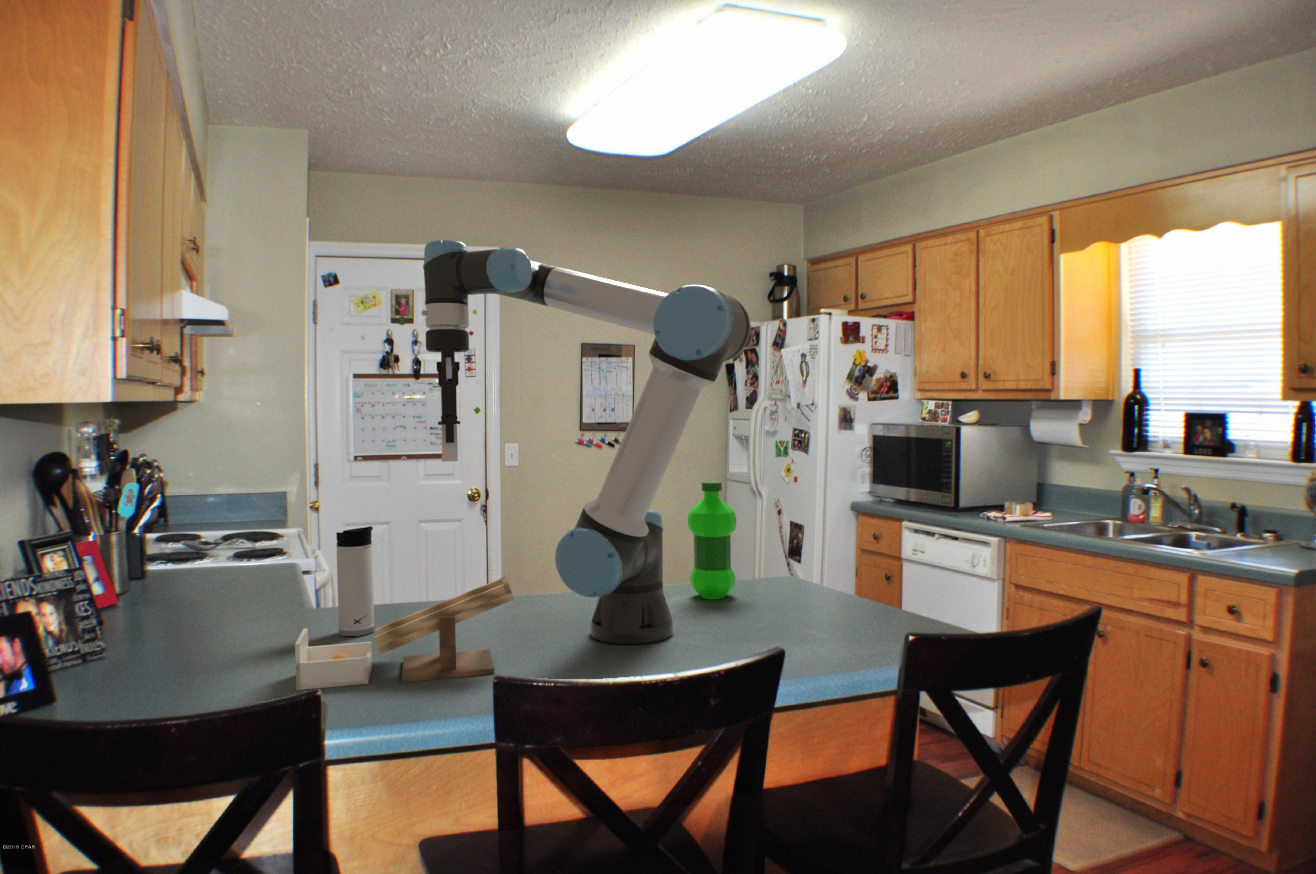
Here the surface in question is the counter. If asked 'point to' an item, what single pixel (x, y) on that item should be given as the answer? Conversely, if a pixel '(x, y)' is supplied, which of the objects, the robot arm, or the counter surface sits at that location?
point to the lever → (429, 617)
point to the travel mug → (355, 582)
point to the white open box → (331, 664)
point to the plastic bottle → (712, 544)
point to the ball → (340, 656)
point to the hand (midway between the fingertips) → (450, 460)
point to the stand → (447, 659)
